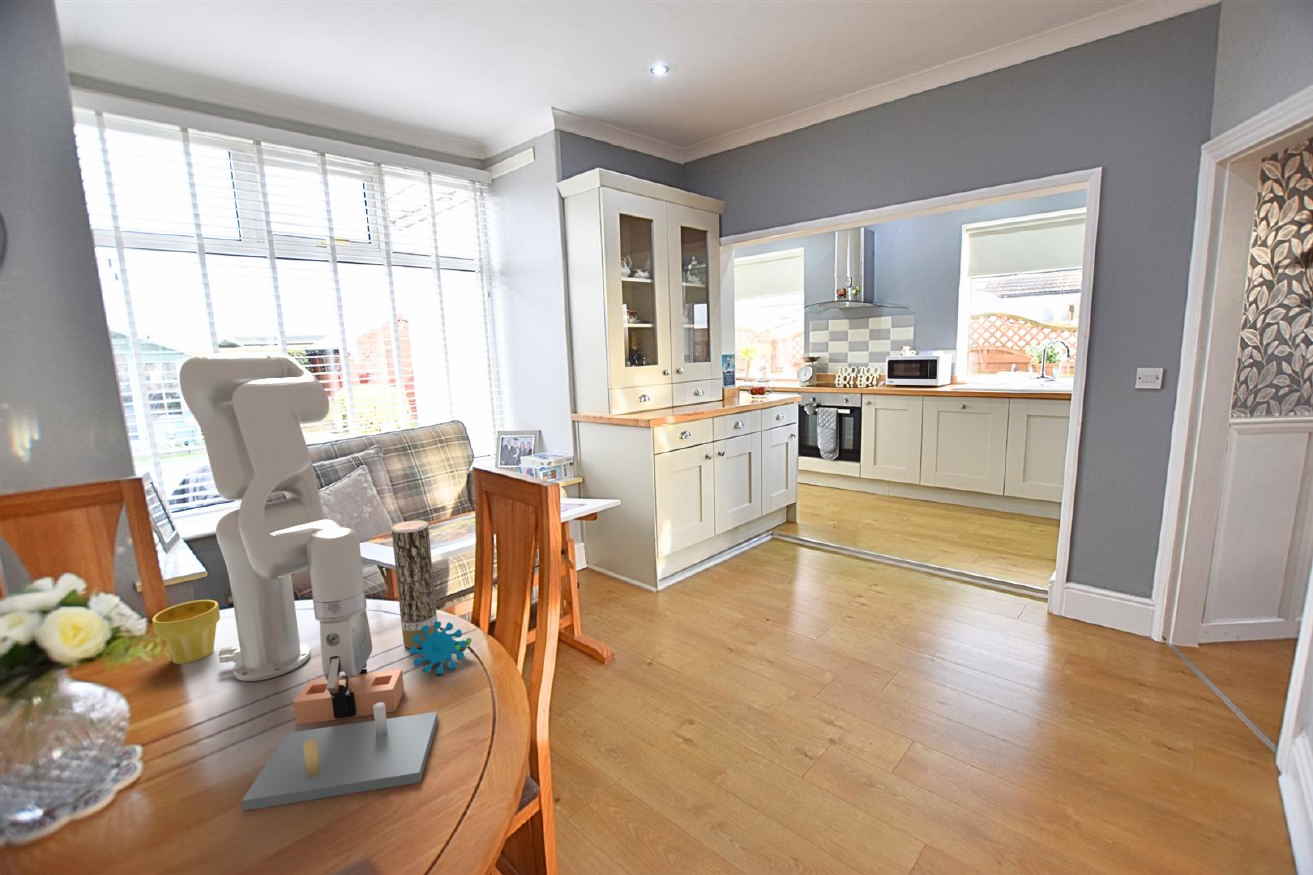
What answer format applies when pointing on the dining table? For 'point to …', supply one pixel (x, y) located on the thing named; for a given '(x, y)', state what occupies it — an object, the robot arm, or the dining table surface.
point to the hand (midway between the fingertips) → (352, 702)
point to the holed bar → (367, 693)
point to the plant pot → (188, 629)
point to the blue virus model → (439, 647)
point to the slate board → (345, 760)
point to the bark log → (414, 579)
